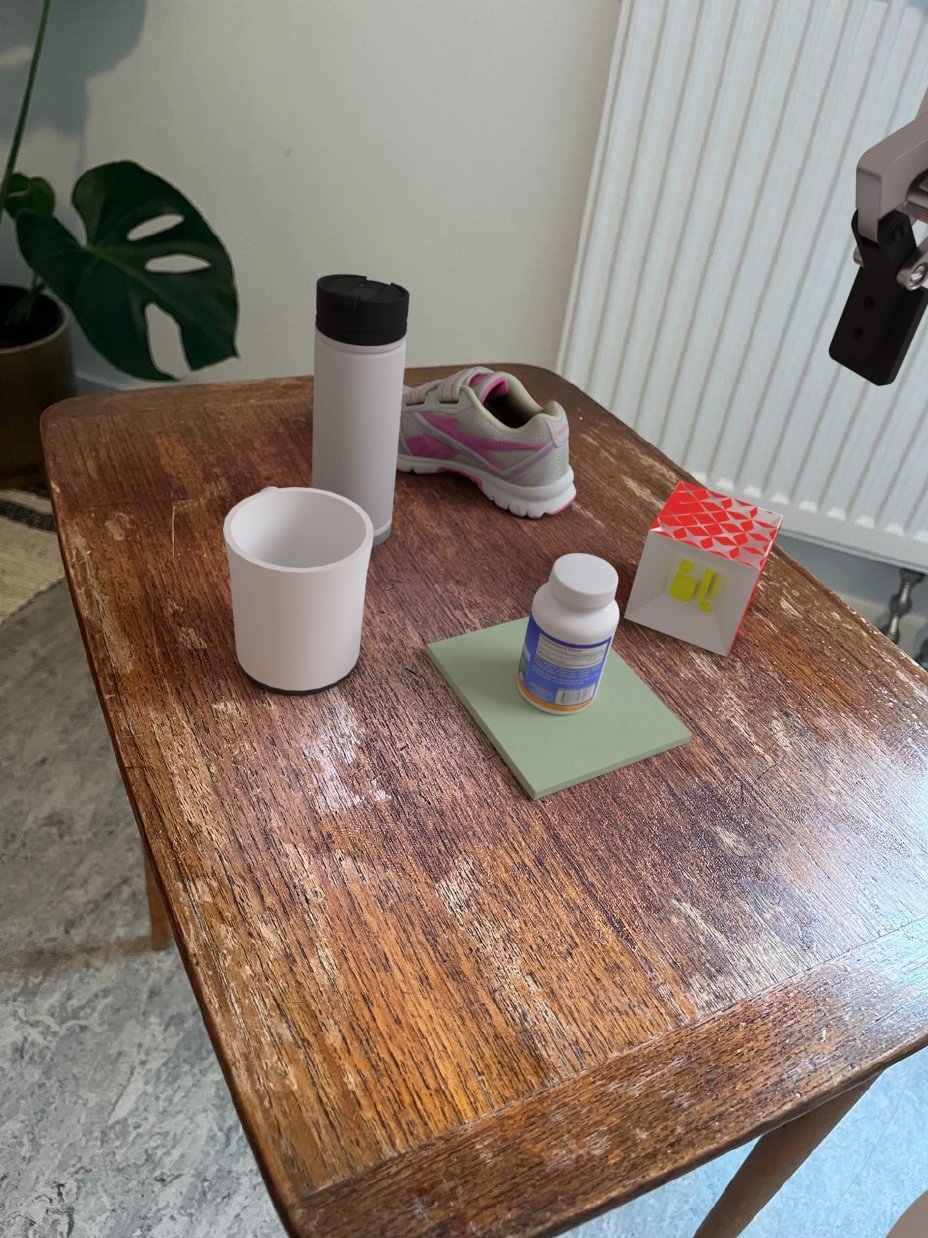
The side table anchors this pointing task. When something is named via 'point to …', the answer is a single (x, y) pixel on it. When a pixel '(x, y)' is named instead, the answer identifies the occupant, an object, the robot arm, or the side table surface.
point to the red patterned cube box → (702, 567)
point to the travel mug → (359, 392)
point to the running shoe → (489, 439)
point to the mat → (550, 743)
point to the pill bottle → (569, 635)
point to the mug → (297, 586)
